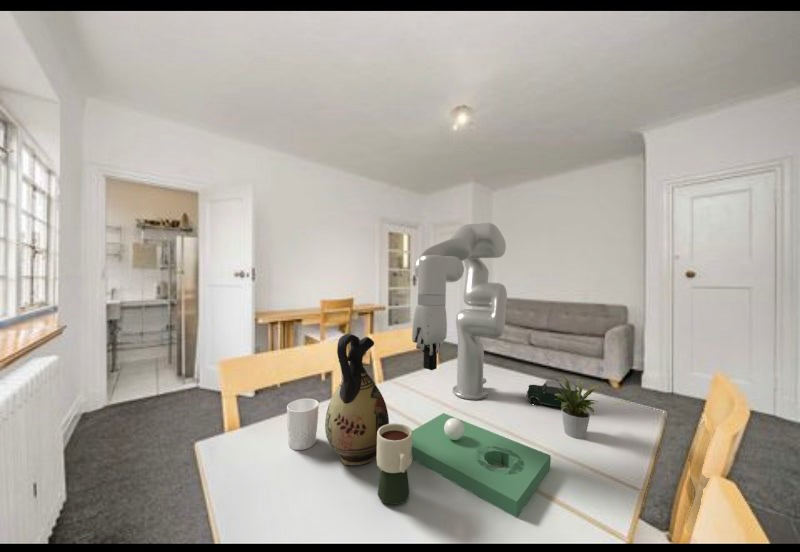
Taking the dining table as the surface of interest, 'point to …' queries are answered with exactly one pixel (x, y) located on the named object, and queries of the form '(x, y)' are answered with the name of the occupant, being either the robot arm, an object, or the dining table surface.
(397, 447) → the character mug
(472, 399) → the robot arm
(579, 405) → the house plant
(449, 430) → the golf ball
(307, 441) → the white cup
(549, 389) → the miniature car
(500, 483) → the board
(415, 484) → the dining table surface
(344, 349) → the ceramic jug
